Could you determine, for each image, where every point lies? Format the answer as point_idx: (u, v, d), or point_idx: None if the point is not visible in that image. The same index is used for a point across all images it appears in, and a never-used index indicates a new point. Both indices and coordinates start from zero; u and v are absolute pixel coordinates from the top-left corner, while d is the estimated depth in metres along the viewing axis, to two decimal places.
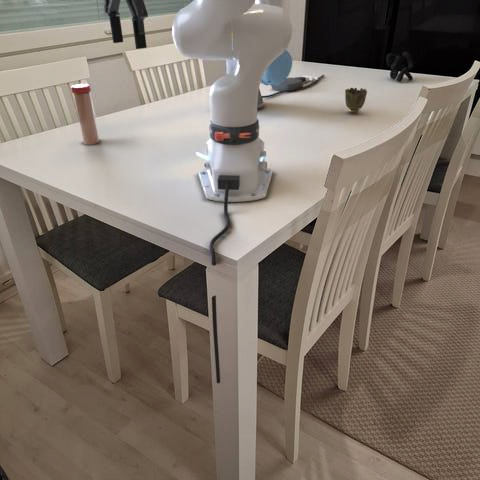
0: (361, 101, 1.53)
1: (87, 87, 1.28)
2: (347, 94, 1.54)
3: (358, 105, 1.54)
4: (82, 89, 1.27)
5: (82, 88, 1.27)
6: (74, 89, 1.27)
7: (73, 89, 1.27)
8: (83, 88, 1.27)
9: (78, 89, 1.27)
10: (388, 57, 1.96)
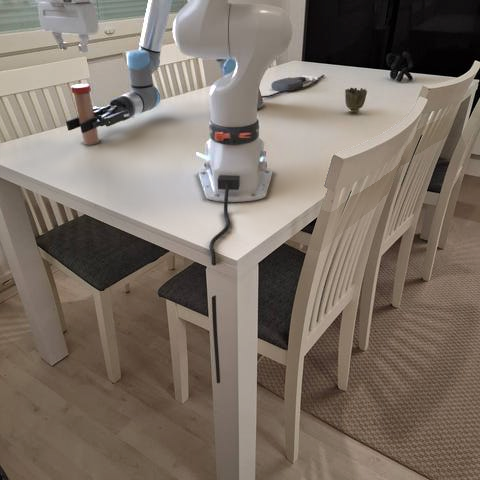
0: (361, 101, 1.53)
1: (87, 87, 1.28)
2: (347, 94, 1.54)
3: (358, 105, 1.54)
4: (82, 89, 1.27)
5: (82, 88, 1.27)
6: (74, 89, 1.27)
7: (73, 89, 1.27)
8: (83, 88, 1.27)
9: (78, 89, 1.27)
10: (388, 57, 1.96)
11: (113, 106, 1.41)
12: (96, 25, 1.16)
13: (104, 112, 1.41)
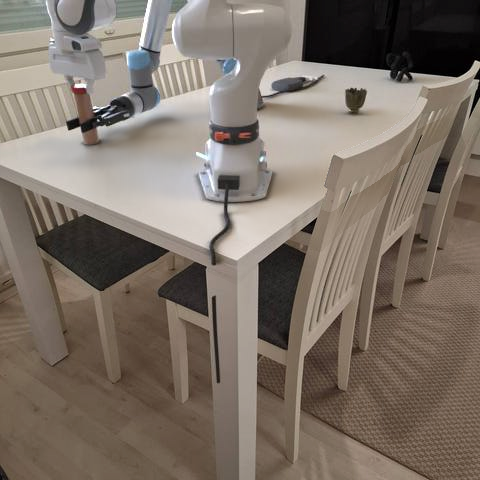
0: (361, 101, 1.53)
1: None
2: (347, 94, 1.54)
3: (358, 105, 1.54)
4: (82, 89, 1.27)
5: (82, 88, 1.27)
6: (74, 89, 1.27)
7: (73, 89, 1.27)
8: (83, 88, 1.27)
9: (78, 89, 1.27)
10: (388, 57, 1.96)
11: (113, 106, 1.41)
12: (104, 70, 1.22)
13: (104, 112, 1.41)
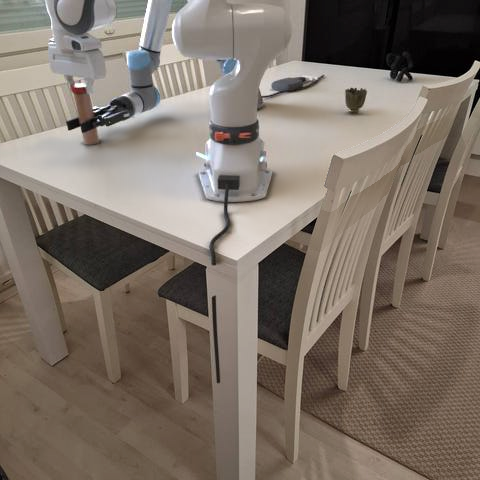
0: (361, 101, 1.53)
1: None
2: (347, 94, 1.54)
3: (358, 105, 1.54)
4: None
5: None
6: (82, 88, 1.27)
7: (80, 89, 1.27)
8: None
9: None
10: (388, 57, 1.96)
11: (113, 106, 1.41)
12: (104, 70, 1.22)
13: (104, 112, 1.41)
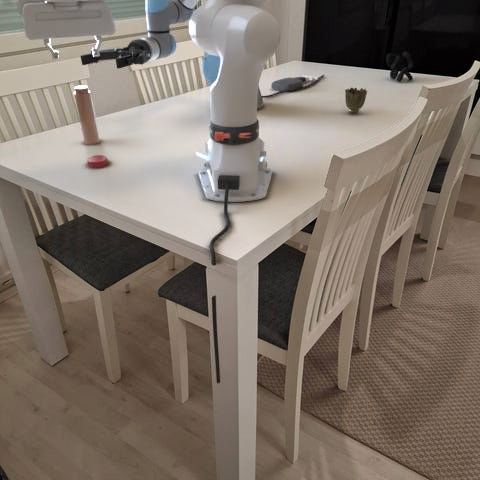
0: (361, 101, 1.53)
1: None
2: (347, 94, 1.54)
3: (358, 105, 1.54)
4: None
5: None
6: None
7: None
8: None
9: None
10: (388, 57, 1.96)
11: (131, 47, 1.42)
12: None
13: (122, 53, 1.42)
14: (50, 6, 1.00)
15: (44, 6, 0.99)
